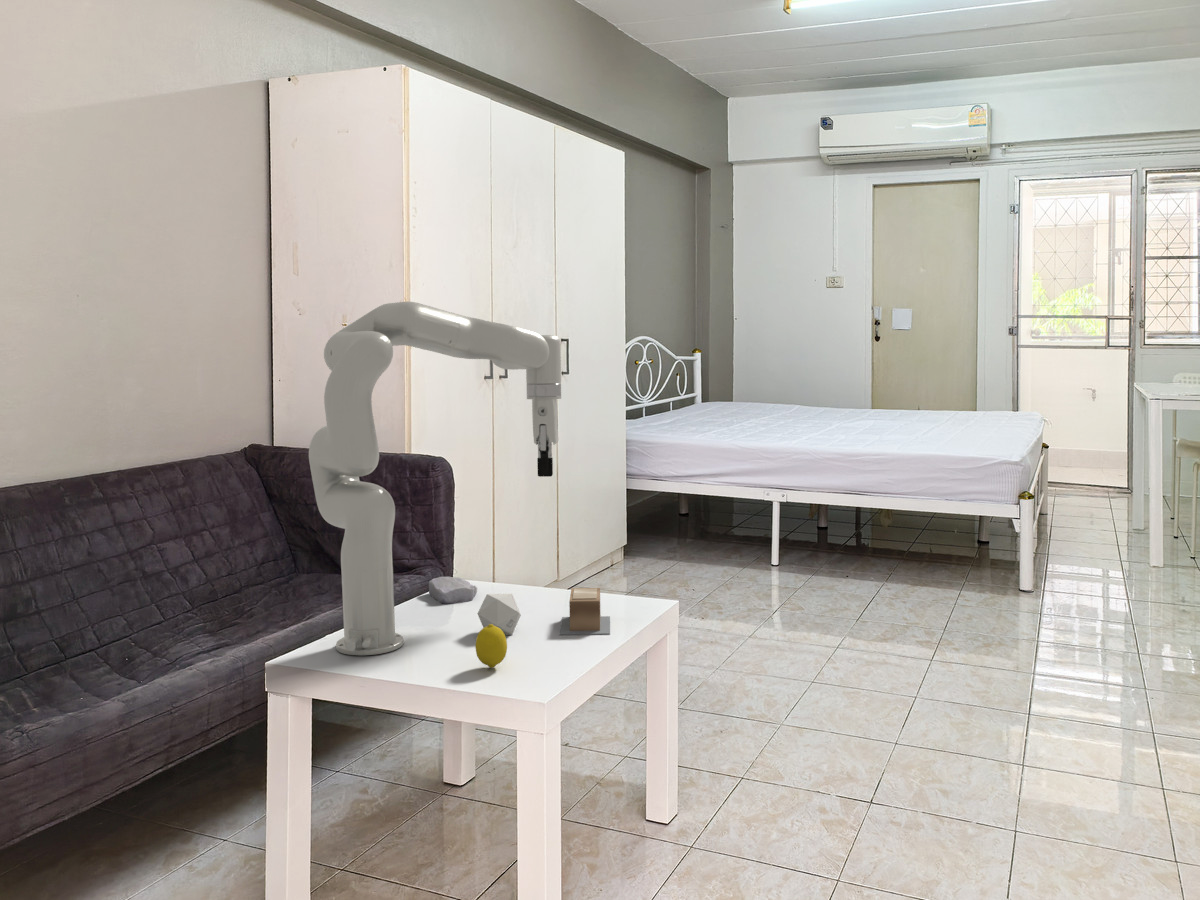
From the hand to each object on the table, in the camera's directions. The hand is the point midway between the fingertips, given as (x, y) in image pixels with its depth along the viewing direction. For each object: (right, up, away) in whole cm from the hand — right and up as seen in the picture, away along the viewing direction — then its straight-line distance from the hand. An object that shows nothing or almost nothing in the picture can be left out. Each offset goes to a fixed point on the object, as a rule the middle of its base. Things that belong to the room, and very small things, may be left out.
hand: (545, 475), depth 213 cm
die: (-8, -31, -19) cm, 37 cm away
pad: (+9, -30, -15) cm, 35 cm away
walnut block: (+9, -26, -8) cm, 29 cm away
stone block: (-21, -29, +12) cm, 38 cm away
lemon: (-7, -33, -41) cm, 53 cm away
